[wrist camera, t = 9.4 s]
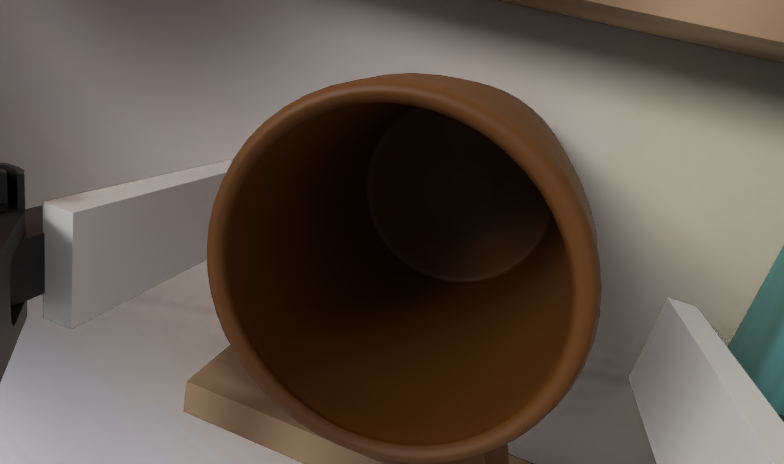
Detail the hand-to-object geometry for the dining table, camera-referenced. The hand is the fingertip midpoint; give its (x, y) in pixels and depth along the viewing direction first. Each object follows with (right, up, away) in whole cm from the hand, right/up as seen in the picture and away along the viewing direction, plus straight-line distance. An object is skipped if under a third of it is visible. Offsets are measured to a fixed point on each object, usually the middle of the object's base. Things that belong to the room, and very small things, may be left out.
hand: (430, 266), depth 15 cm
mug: (+2, 0, +3) cm, 4 cm away
